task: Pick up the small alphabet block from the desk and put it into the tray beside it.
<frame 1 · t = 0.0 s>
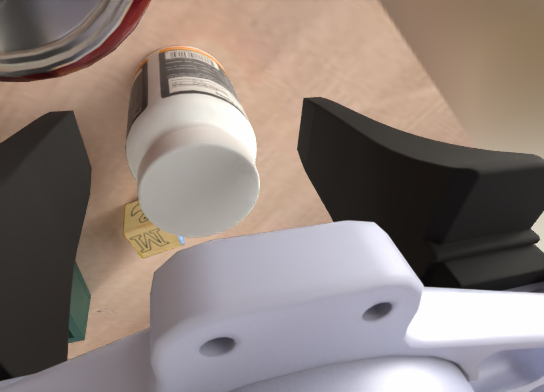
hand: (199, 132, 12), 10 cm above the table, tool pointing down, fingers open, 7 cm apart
pill bottle: (182, 89, 21), on the table
alphabet block: (154, 208, 26), on the table
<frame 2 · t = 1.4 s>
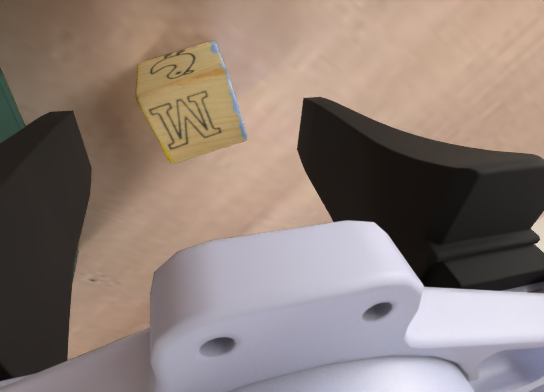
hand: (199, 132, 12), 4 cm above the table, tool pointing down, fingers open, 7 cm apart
alphabet block: (189, 84, 15), on the table
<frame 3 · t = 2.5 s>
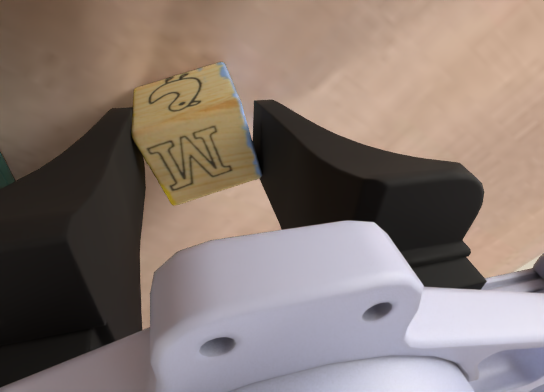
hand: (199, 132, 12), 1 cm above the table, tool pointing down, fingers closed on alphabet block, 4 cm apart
alphabet block: (193, 109, 13), on the table, touching gripper
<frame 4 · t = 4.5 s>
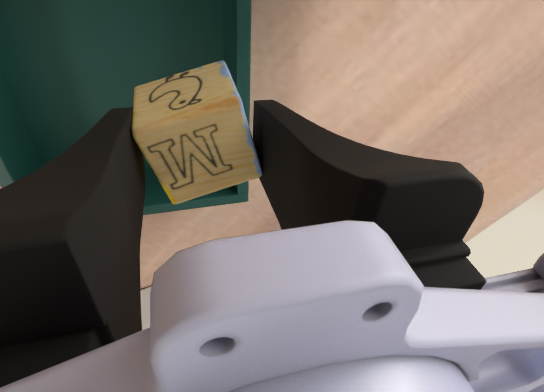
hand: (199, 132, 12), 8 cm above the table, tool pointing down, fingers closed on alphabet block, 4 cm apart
tray: (121, 62, 17), on the table
alphabet block: (194, 108, 13), point 7 cm above the table, touching gripper
skincare box: (56, 338, 30), on the table
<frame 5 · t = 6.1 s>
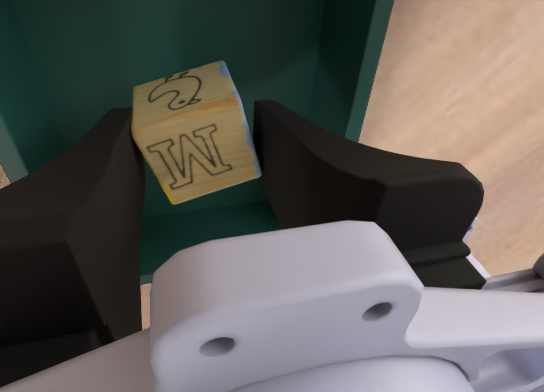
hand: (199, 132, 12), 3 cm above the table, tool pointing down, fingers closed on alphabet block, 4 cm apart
tray: (190, 89, 14), on the table
alphabet block: (193, 108, 13), point 2 cm above the table, touching gripper
when the fingers open (2 cm above the table, at t = 6.9 s): alphabet block stays where it is, resting on tray.
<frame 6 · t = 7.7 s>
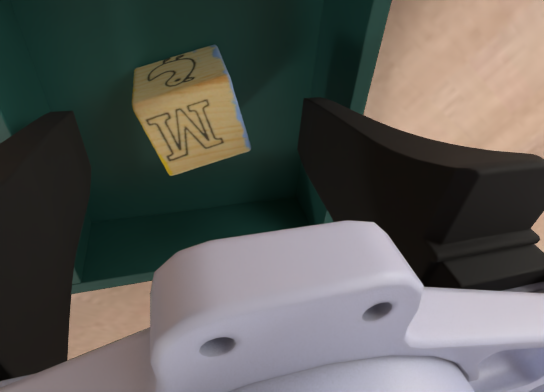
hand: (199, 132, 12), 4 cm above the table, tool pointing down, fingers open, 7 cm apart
tray: (189, 87, 14), on the table
alphabet block: (189, 90, 14), resting on tray
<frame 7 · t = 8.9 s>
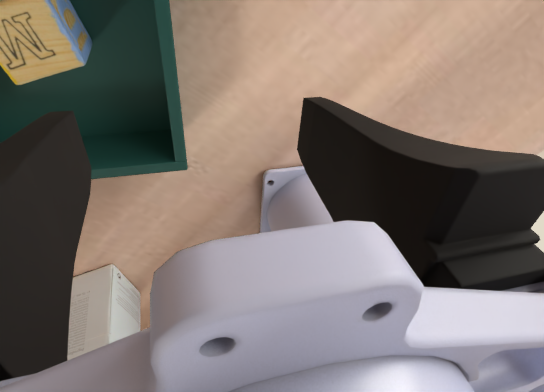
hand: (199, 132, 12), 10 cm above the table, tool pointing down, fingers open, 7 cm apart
tray: (48, 19, 17), on the table
alphabet block: (45, 20, 16), resting on tray
skincare box: (9, 320, 29), on the table
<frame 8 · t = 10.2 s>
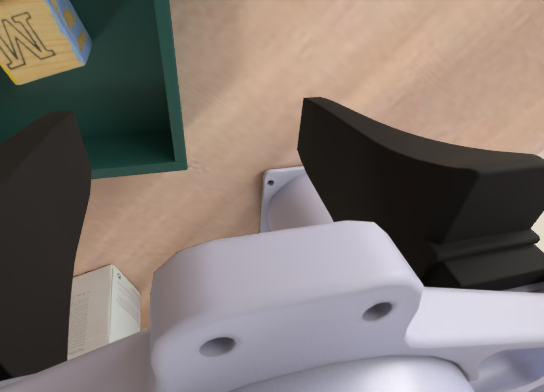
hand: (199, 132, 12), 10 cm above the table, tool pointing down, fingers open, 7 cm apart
tray: (48, 19, 17), on the table
alphabet block: (45, 20, 16), resting on tray
skincare box: (9, 320, 29), on the table
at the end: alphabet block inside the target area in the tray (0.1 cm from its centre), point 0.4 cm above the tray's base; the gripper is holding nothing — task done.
